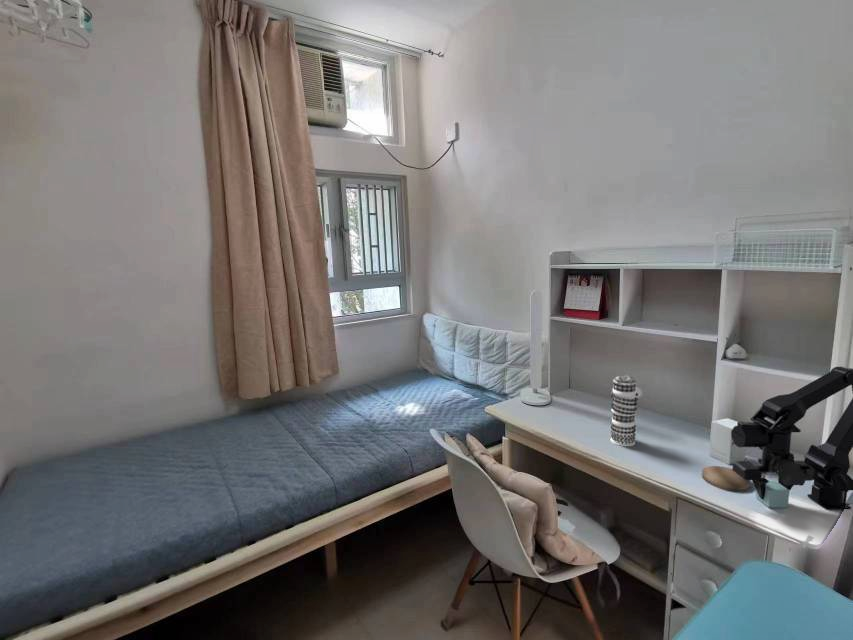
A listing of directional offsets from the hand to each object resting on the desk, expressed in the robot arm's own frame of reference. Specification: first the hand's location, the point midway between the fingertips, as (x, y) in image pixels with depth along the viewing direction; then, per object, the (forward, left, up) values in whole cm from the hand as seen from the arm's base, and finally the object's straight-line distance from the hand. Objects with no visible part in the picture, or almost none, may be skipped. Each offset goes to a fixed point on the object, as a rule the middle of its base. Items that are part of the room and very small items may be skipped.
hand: (771, 498), depth 117 cm
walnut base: (+5, -12, -1) cm, 13 cm away
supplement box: (-4, -26, -2) cm, 26 cm away
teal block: (0, 0, -1) cm, 1 cm away
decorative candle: (+25, -40, -2) cm, 47 cm away
